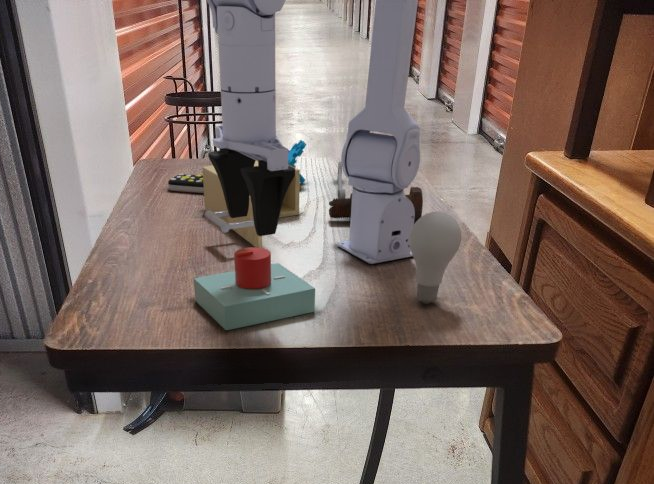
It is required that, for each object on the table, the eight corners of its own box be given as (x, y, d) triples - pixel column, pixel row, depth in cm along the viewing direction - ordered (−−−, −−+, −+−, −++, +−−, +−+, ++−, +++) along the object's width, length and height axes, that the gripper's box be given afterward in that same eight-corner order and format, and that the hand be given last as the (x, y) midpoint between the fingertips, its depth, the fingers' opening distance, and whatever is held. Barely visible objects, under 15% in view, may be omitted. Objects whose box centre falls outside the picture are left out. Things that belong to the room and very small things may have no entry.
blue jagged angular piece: (267, 167, 133) (302, 129, 128) (287, 189, 136) (323, 153, 130) (261, 190, 126) (298, 151, 120) (283, 212, 129) (320, 175, 123)
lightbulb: (444, 293, 87) (458, 204, 80) (455, 312, 82) (471, 219, 75) (397, 293, 86) (408, 205, 80) (406, 312, 82) (418, 220, 75)
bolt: (328, 230, 113) (417, 227, 112) (330, 223, 108) (422, 220, 107) (328, 194, 112) (417, 191, 111) (329, 185, 107) (423, 181, 106)
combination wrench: (346, 188, 115) (344, 159, 130) (338, 188, 115) (338, 159, 130) (344, 211, 117) (343, 179, 133) (337, 210, 117) (337, 179, 133)
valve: (261, 273, 84) (261, 242, 81) (277, 285, 81) (277, 253, 78) (229, 279, 82) (228, 247, 80) (244, 291, 79) (243, 259, 77)
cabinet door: (223, 255, 97) (220, 207, 93) (194, 230, 107) (190, 185, 102) (262, 249, 99) (261, 201, 95) (230, 225, 109) (228, 181, 104)
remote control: (228, 196, 123) (228, 184, 122) (166, 191, 126) (165, 179, 125) (239, 188, 128) (239, 176, 127) (179, 183, 131) (178, 172, 129)
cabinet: (299, 214, 114) (299, 169, 110) (226, 225, 109) (224, 179, 105) (274, 200, 121) (274, 158, 116) (205, 210, 116) (202, 166, 112)
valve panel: (314, 311, 82) (315, 287, 80) (226, 330, 78) (224, 305, 76) (278, 284, 89) (278, 261, 87) (195, 301, 85) (193, 276, 83)
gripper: (187, 83, 72) (197, 213, 81) (241, 102, 62) (246, 248, 71) (245, 79, 75) (249, 205, 83) (307, 96, 65) (304, 238, 73)
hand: (251, 225), depth 77 cm, fingers open, 7 cm apart
